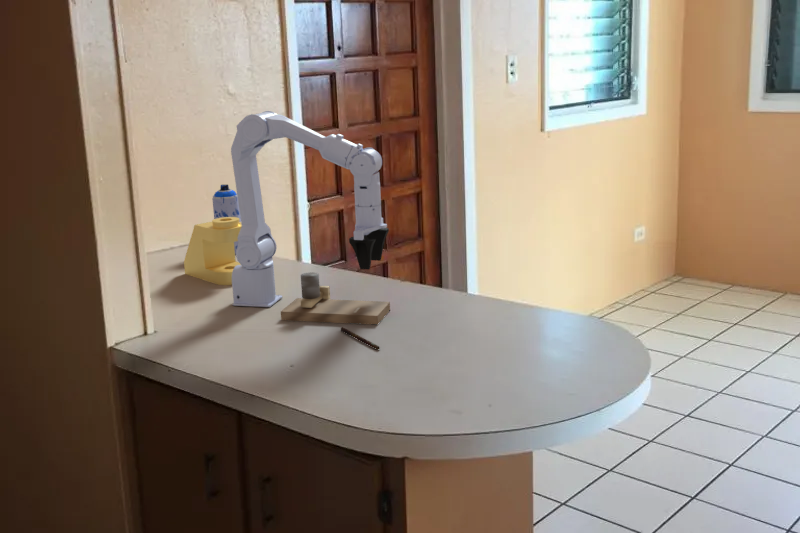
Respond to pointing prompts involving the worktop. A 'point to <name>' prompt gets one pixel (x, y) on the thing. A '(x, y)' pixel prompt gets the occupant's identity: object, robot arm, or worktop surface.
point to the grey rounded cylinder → (312, 290)
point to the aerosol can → (226, 205)
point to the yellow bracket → (213, 250)
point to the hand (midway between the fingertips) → (370, 264)
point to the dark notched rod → (359, 338)
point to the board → (337, 311)
